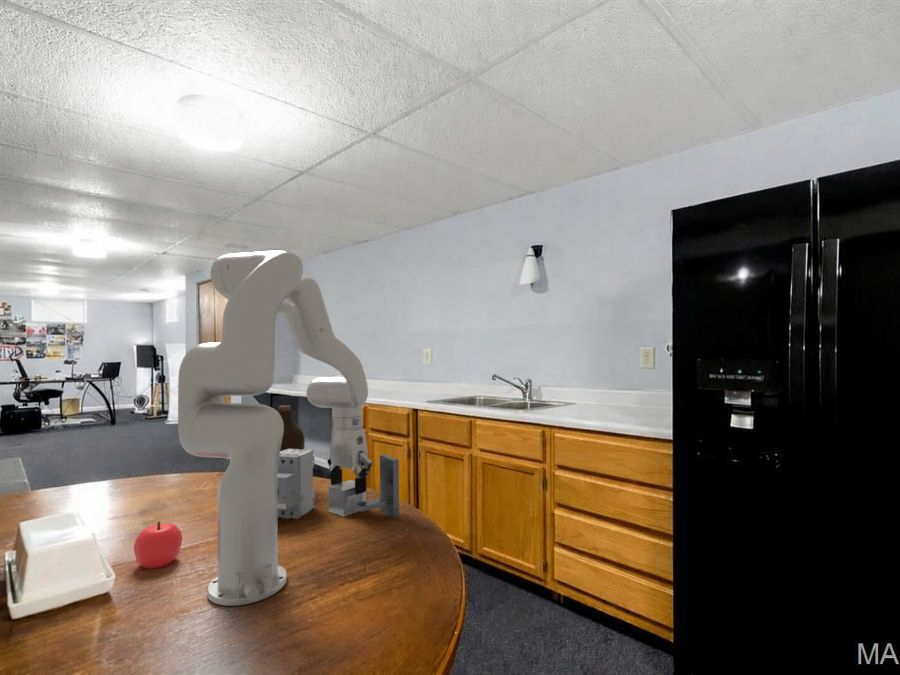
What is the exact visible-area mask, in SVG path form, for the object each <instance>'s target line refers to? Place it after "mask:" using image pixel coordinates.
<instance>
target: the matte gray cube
mask: <svg viewBox="0 0 900 675" xmlns="http://www.w3.org/2000/svg"><path fill="white" fill-rule="evenodd" d="M366 492H367V491H366ZM366 492H363V493H361V494H358V495H357V494H355V480H352V479H350V480H349V479H348V480H346V481H342V483H338V484H335V485H331V484H330V485H329V486H328V512H329V513H333V514H335V515H337V514H338V515H337V516H340V517H343V518H344V517H347V516H349V515H350V516H351V515H353V514H355V513H358V512H360V511H359V510H358V509H356V503H360V502H364V501H367V500H366ZM352 513H353V514H352Z"/></svg>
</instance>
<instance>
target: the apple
mask: <svg viewBox="0 0 900 675" xmlns="http://www.w3.org/2000/svg"><path fill="white" fill-rule="evenodd" d="M182 543H183V535H182V532H181V529H180V528H179V527H178V526H177V525H176V524H173V523H170V522H167V523H161V522H160V520H158V521H157V524H155V525H151V526H148V527H146V528H144V529H143V530H142V531H141V532H140V533H139V535H138V536H137V537H136V539H135V542H134V546H133V551H134V556H135V560H136V563H137V565H140V566H142V567H143V568H145V569H148V570H151V569H160V568H162V567H164V566H168V565H170V564H171V563H172V562H174V560H175V559H176V558H177V557H178V556H179V554H180V552H181V547H182Z"/></svg>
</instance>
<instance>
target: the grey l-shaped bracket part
mask: <svg viewBox="0 0 900 675" xmlns="http://www.w3.org/2000/svg"><path fill="white" fill-rule="evenodd" d="M399 461H400V460H399V459H398V458H396V457H393V456H391V455H388V454H380V455H379V498H378V497H377V498H374V499H373V498H372V499H369V500H366V501H364V502H360V503H356V509H358V510H359V511H358V512H361V513H362V512H366V511H371V510H376V509H379V511H380V512H382V513H383V514H385V515H386V516H388V517H390V518H392V519H398V518H400V483H399V482H400V480H399V479H400V471H399V470H400V469H399V468H400V467H399V466H400V464H399V463H400V462H399Z"/></svg>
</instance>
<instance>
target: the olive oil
mask: <svg viewBox="0 0 900 675" xmlns="http://www.w3.org/2000/svg"><path fill="white" fill-rule="evenodd" d="M277 412H278V413H279V414H280V415H281V417H282V420H283V424H284V432H283V439H282V443H281V448H280V452H281V451H283V450H288V449H300V450H302V449H305V448H304V447H305V436H304V432H303V429H301V428H300V426H299V425H297V424H296V423H295V421H293V420H292V410H291V405H286V404H283V405H279V406H278V410H277Z"/></svg>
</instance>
